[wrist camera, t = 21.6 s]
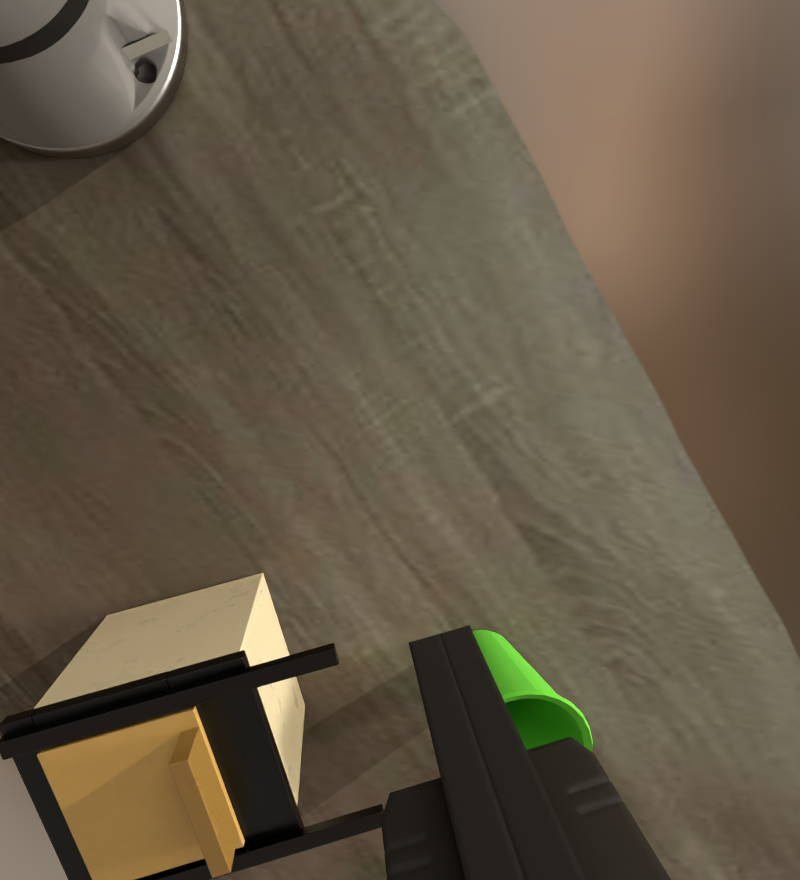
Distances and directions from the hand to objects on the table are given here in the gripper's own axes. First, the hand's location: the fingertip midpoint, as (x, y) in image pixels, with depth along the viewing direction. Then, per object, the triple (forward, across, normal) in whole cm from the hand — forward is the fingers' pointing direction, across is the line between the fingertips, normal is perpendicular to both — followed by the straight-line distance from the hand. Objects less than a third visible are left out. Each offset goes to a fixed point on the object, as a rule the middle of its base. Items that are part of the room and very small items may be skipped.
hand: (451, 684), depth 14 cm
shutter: (+16, -17, -13) cm, 27 cm away
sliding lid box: (+28, -14, -13) cm, 34 cm away
